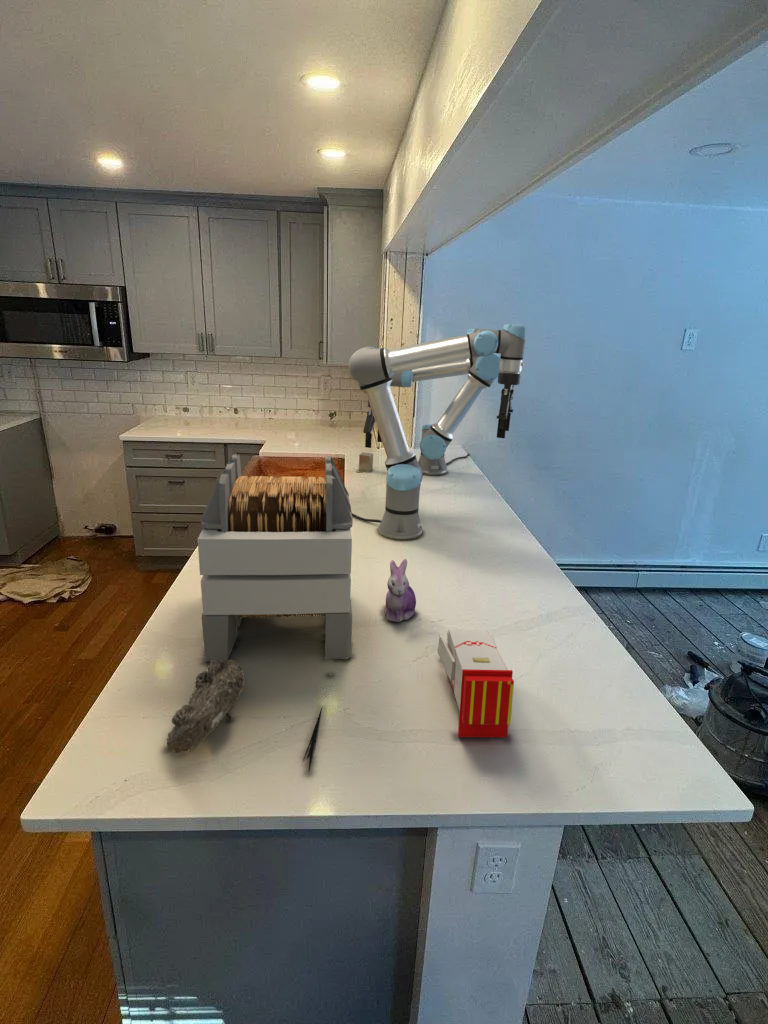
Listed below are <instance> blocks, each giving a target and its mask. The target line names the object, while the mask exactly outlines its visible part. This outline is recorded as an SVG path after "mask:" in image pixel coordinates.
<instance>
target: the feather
mask: <svg viewBox="0 0 768 1024" xmlns="http://www.w3.org/2000/svg"><path fill="white" fill-rule="evenodd" d="M329 675H330V676H331V675H332V674H331V673H330V674H329ZM322 710H323V707H321V708H320V710H319V713H318V716H317V719H316V723H315V725H314V728H313V731H312V733H311V737H310V739H309V742H308V745H307V748H306V751H305V754H304V757H303V760H302V763H301V767H302V765H303V763H304V761H305V758H308V759H309V760H308V762H307V763H308V764H307V766H308V771H310V770H311V766H312V765H311V764H312V760H313V757H315V756H314V755H315V751H316V749H315V746H317V739H318V733H319V729H320V722H321V717H322V712H323V711H322ZM313 754H314V755H313ZM306 755H307V757H306Z"/></svg>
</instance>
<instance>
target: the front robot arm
mask: <svg viewBox="0 0 768 1024" xmlns="http://www.w3.org/2000/svg"><path fill="white" fill-rule="evenodd" d="M526 335H527V327H526V326H525V325H524V324H516V323H515V324H514V323H512V324H511V323H505V324H504V325H503V328H502V329H489V328H487V329H486V328H469V329H468V330H467V331H466V334H461V335H457V336H450V337H447V338H441V339H437V340H432V341H427V342H422V343H417V344H412V345H407V346H402V347H398V348H393V349H388V348H387V347H381V348H380V347H377V346H374V345H367V346H363V347H361V348H360V349H358V350H357V349H356V351H355V352H353V353H352V355H351V356H350V358H349V361H348V370H349V373H350V375H351V377H352V378H353V380H355V381H356V382H357V383H358V386H359V389H360V391H361V392H362V393H365V394H366V397H367V401H368V400H369V403H370V406H371V408H370V410H371V409H372V412H373V415H374V418H375V424H376V427H377V432H378V431H379V434H380V437H381V440H382V442H381V443H382V446H383V449H384V452H385V455H386V459H385V461H384V465H385V468H386V475H385V481H386V486H385V487H386V488H385V504H384V505H385V507H384V508H385V509H384V513H383V515H382V519H375V518H364V517H361V516H359V515H357V514H355V513H352V518H354V519H357V520H359V521H362V522H368V523H377V524H378V523H379V526H378V533H379V534H380V535H381V536H382V537H385V538H387V539H389V540H395V541H410V540H415V539H418V538H420V537H421V536H422V535H423V524H422V521H421V518H420V515H419V507H420V506H419V505H420V492H421V484H422V481H423V475H424V474H423V473H422V469H421V467H420V465H419V463H418V461H419V460H418V458H417V456H416V453H415V452H414V451H412V450H410V447H409V444H408V440H407V437H406V434H405V431H404V428H403V425H402V421H401V418H400V415H399V412H398V408H397V406H396V403H395V399H394V396H393V393H392V389H391V386H390V384H391V382H392V378H391V377H392V375H393V374H395V373H400V372H405V371H410V370H415V369H420V368H425V367H430V366H435V365H440V364H445V363H450V362H455V361H460V360H465V359H470V358H476V357H481V356H483V357H486V356H490V355H492V354H493V353H496V354H500V355H499V356H500V363H499V371H500V372H499V374H498V378H497V383H498V384H499V385H503V388H502V389H501V392H500V394H501V395H500V405H499V411H498V415H496V420H497V419H498V421H497V422H498V423H497V428H496V429H497V430H496V431H497V432H496V438H497V439H506V433H507V432H509V431H510V424H511V415H512V413H514V409H513V399H514V394H515V389H514V387H515V386H518V385H519V386H520V384H521V378H522V374H521V372H522V368H523V367H524V366H525V362H523V360H524V352H525V345H526V340H527V339H526V337H527V336H526Z"/></svg>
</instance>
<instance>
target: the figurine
mask: <svg viewBox="0 0 768 1024" xmlns="http://www.w3.org/2000/svg"><path fill="white" fill-rule="evenodd" d="M407 567H408V559H406V558H404V559H403V560H402V561H401V563H400V565H399V566H398V565H397V563H396V562H395V561H394V560H393V559H391V560H390V561H389V570H390V576H389V578H388V579H387V589H388V591H387V592H386V594H385V595H386V596H385V607H384V615H385V616H386V620H387V621H391V622H395V623H400V622H402V621H406V620H409V619H410V618H411V617H413V616H414V615H415V610H416V606H417V597H416V593H415V591H414V590H413V587H411V586H410V582H409V579H408V577H407V574H406V571H407Z"/></svg>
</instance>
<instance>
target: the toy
mask: <svg viewBox="0 0 768 1024" xmlns="http://www.w3.org/2000/svg"><path fill="white" fill-rule="evenodd" d="M446 640H447V643H446V641H445V639H444V636H443V635H442V634H439V637H438V646H437V656H438V657H439V659H440V661H441V663H442V666H443V668H444V670H445V672H446V674H447V677H448V679H449V681H450V684H451V687H452V690H453V693H454V697H455V701H456V705H457V708H458V711H459V714H458V715H459V716H458V730H457V731H458V732H457V737H458V738H508V731H509V726H510V725H511V717H512V707H513V697H514V696H513V695H514V684H515V680H514V679H513V673H514V671H513V670H512V669H508V667H507V665H506V662H505V661H504V659H503V658H502V655H501V653H500V651H499V649H498V647H497V643H496V639H495V637H494V635H493V634H491V632H490V631H489V629H467V628H466V629H465V628H463V629H461V628H460V629H459V628H448V630H447V639H446Z"/></svg>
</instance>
